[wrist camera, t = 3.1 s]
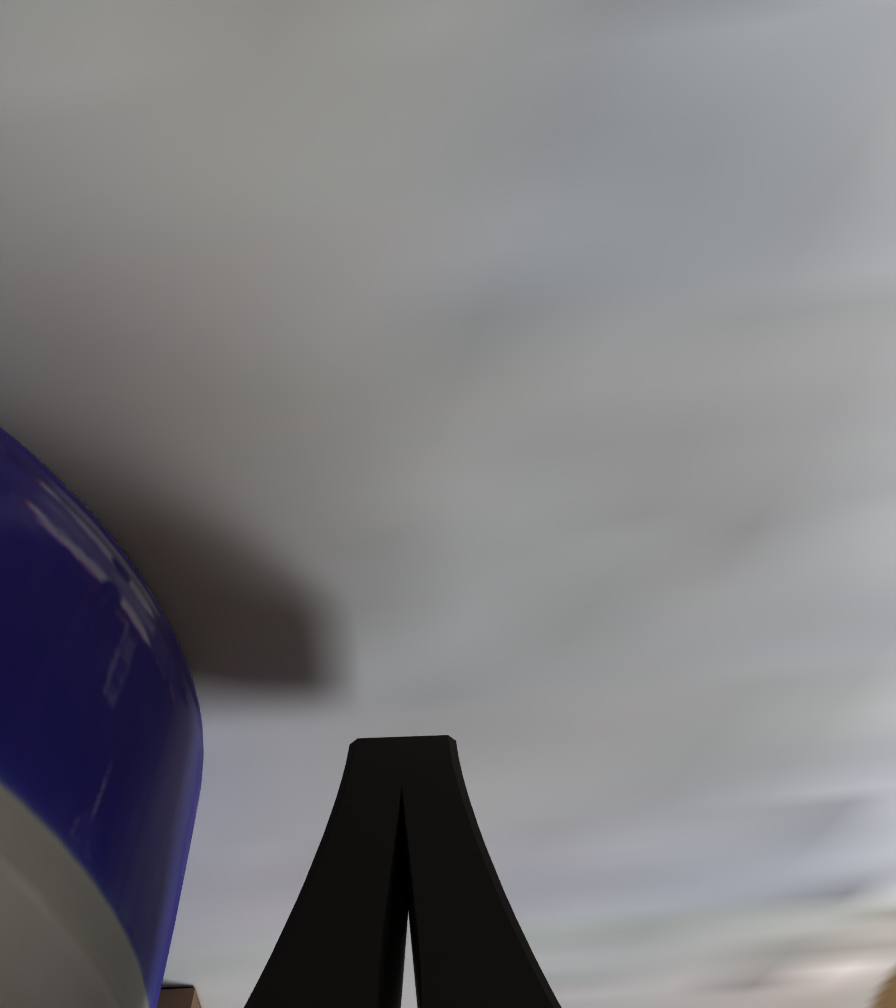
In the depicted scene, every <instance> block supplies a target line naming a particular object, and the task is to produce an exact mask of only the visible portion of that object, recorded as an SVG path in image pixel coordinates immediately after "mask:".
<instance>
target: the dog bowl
mask: <svg viewBox="0 0 896 1008" xmlns="http://www.w3.org/2000/svg"><path fill="white" fill-rule="evenodd" d="M203 755H204V751H203V729H202V720H201V714H200V707H199V702H198V698H197V695H196V691H195V687H194V683H193V679H192V676H191V673H190V671H189V668H188V665H187V662H186V659H185V657H184V655H183V652H182V650H181V647H180V645H179V643H178V640H177V638H176V636H175V634H174V632H173V630H172V628H171V626H170V624H169V622H168V620H167V618H166V616H165V615H164V613H163V611H162V609H161V607H160V606H159V604H158V602H157V600H156V599H155V597H154V595H153V593H152V592H151V590H150V588H149V587H148V585H147V584H146V583H145V581H144V580H143V578H142V577H141V576H140V574H139V573H138V572H137V570H136V569H135V567H134V566H133V565H132V563H131V562H130V560H129V559H128V558H127V556H126V555H125V553H124V552H123V551H122V549H121V548H120V546H119V545H118V544H117V543H116V541H115V540H114V539H113V538H112V537H111V535H110V534H109V533H108V532H107V531H106V530H105V528H104V527H103V526H102V525H101V524H100V522H99V521H98V520H97V519H96V518H95V517H94V515H93V514H92V513H91V512H90V511H89V510H88V509H87V508H86V507H85V506H84V505H83V504H82V503H81V501H80V500H79V499H78V498H77V497H76V496H75V495H74V494H73V493H72V492H71V491H70V490H69V489H68V488H67V487H66V486H65V485H64V484H63V483H62V482H61V481H60V480H59V479H58V478H57V477H56V476H55V475H54V474H53V473H52V472H51V471H50V470H49V469H48V468H46V467H45V466H44V465H43V464H42V463H41V462H40V461H39V460H38V459H37V458H36V457H35V456H34V455H33V454H32V453H31V452H29V451H28V450H27V449H26V448H25V447H23V446H22V445H21V444H20V443H19V442H17V441H16V440H15V439H14V438H13V437H11V436H10V435H9V434H8V433H7V432H5V431H4V430H3V429H2V428H1V427H0V1008H157V1004H158V999H159V995H160V990H161V985H162V981H163V976H164V972H165V967H166V962H167V958H168V953H169V948H170V944H171V939H172V934H173V930H174V925H175V920H176V915H177V910H178V905H179V900H180V895H181V890H182V884H183V879H184V874H185V869H186V864H187V859H188V854H189V849H190V844H191V839H192V833H193V828H194V823H195V817H196V812H197V806H198V801H199V795H200V790H201V781H202V769H203Z"/></svg>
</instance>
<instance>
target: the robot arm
mask: <svg viewBox="0 0 896 1008" xmlns="http://www.w3.org/2000/svg"><path fill="white" fill-rule="evenodd" d="M408 911H409V922H410V933H411V943H412V954H413V965H414V975H415V986H416V996H417V1007H418V1008H561V1006H560V1004H559V1002H558V1001H557V999H556V997H555V995H554V993H553V991H552V989H551V988H550V986H549V984H548V982H547V980H546V978H545V976H544V974H543V972H542V970H541V968H540V966H539V964H538V962H537V960H536V958H535V956H534V954H533V952H532V950H531V948H530V946H529V944H528V942H527V940H526V938H525V936H524V934H523V931H522V929H521V927H520V925H519V923H518V921H517V919H516V917H515V915H514V912H513V910H512V908H511V906H510V903H509V901H508V899H507V897H506V894H505V892H504V890H503V887H502V885H501V883H500V880H499V878H498V875H497V873H496V870H495V868H494V865H493V863H492V861H491V858H490V856H489V853H488V851H487V848H486V846H485V843H484V840H483V838H482V835H481V832H480V830H479V827H478V824H477V821H476V818H475V815H474V812H473V809H472V806H471V803H470V800H469V796H468V793H467V789H466V786H465V782H464V779H463V775H462V771H461V766H460V762H459V757H458V751H457V744H456V741H455V740H454V739H453V738H451V737H450V736H449V735H438V736H411V737H383V738H358V739H356V740H355V741H354V742H352V743H351V744H350V746H349V751H348V756H347V761H346V765H345V769H344V773H343V777H342V780H341V784H340V787H339V791H338V794H337V797H336V800H335V803H334V806H333V809H332V812H331V815H330V818H329V821H328V823H327V826H326V829H325V832H324V835H323V837H322V840H321V842H320V845H319V847H318V850H317V852H316V855H315V857H314V860H313V862H312V865H311V867H310V870H309V872H308V875H307V877H306V880H305V882H304V885H303V887H302V889H301V892H300V894H299V896H298V898H297V901H296V903H295V905H294V907H293V909H292V911H291V914H290V916H289V918H288V920H287V922H286V924H285V926H284V929H283V931H282V933H281V935H280V937H279V939H278V941H277V943H276V946H275V948H274V950H273V952H272V954H271V956H270V958H269V960H268V962H267V964H266V966H265V968H264V970H263V972H262V974H261V976H260V978H259V980H258V982H257V984H256V986H255V988H254V990H253V992H252V993H251V995H250V997H249V999H248V1001H247V1003H246V1005H245V1007H244V1008H401V998H402V985H403V972H404V959H405V946H406V933H407V920H408Z"/></svg>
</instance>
